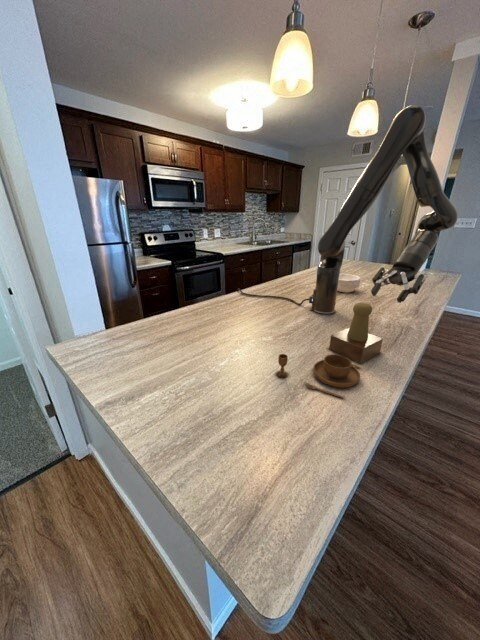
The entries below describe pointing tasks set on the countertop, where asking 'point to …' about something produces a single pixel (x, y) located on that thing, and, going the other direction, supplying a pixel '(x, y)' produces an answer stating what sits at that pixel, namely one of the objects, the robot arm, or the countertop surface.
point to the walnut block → (355, 346)
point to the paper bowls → (348, 283)
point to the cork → (360, 322)
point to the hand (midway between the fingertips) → (385, 297)
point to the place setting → (329, 371)
